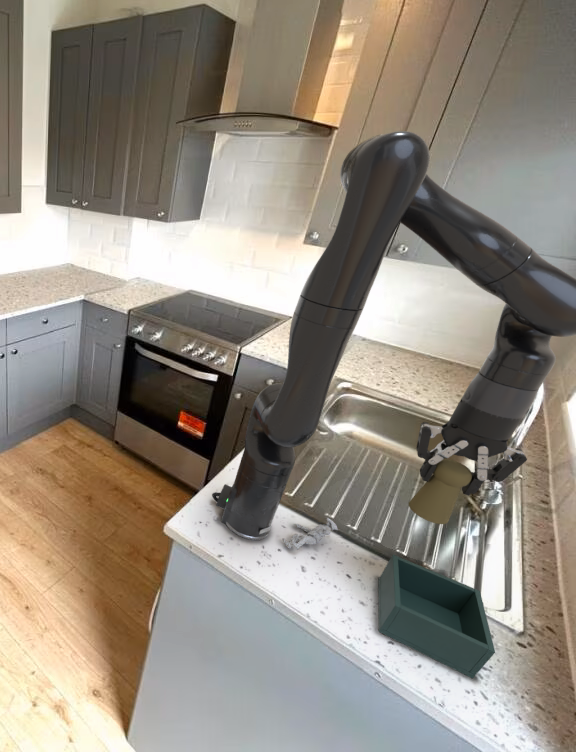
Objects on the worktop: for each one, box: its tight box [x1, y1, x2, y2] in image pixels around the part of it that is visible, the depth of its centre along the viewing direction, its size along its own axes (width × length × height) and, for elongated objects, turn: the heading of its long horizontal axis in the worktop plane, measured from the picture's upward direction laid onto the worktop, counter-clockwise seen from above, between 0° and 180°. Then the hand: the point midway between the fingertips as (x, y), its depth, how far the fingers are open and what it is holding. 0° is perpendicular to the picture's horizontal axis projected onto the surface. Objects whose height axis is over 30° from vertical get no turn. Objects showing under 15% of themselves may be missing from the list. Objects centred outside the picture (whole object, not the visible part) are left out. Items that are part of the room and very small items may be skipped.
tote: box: [377, 554, 496, 679], centre depth 73 cm, size 13×13×7 cm
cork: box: [408, 458, 472, 525], centre depth 77 cm, size 6×6×11 cm
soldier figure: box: [282, 517, 339, 551], centre depth 89 cm, size 8×5×12 cm
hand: (444, 485), depth 76 cm, fingers closed on cork, 5 cm apart
